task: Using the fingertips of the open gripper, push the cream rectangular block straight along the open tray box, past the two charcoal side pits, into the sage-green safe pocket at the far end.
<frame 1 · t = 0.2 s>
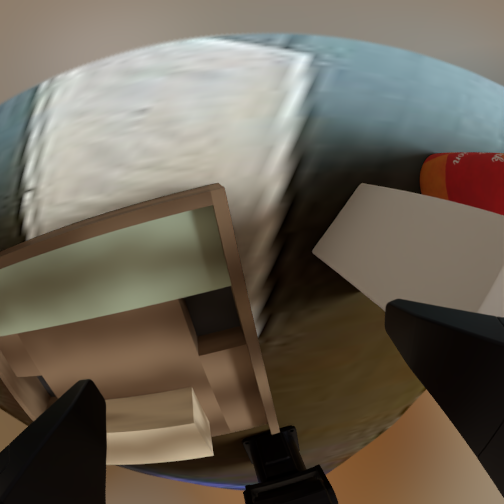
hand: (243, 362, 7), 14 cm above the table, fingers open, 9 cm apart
open tray box: (115, 346, 22), on the table
paper cup: (435, 180, 24), on the table
milk carton: (361, 239, 24), on the table
cream rectangular block: (138, 415, 21), point 3 cm above the table, touching open tray box
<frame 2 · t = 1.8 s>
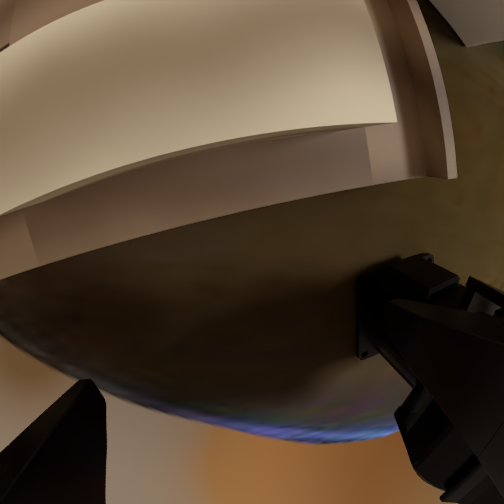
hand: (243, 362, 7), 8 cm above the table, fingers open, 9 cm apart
open tray box: (163, 11, 10), on the table
milk carton: (447, 2, 12), on the table
cream rectangular block: (176, 93, 9), point 3 cm above the table, touching open tray box
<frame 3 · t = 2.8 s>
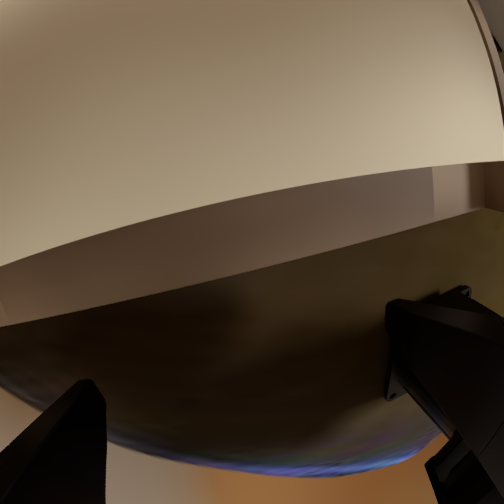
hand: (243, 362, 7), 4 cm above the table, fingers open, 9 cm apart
milk carton: (481, 2, 9), on the table
cream rectangular block: (182, 89, 6), point 3 cm above the table, touching open tray box
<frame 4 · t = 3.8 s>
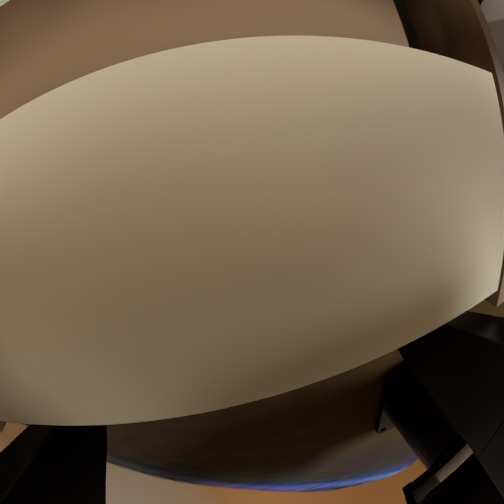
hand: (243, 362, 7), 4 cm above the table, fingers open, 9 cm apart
open tray box: (179, 68, 8), on the table
milk carton: (500, 47, 10), on the table
cream rectangular block: (208, 206, 7), point 3 cm above the table, touching open tray box
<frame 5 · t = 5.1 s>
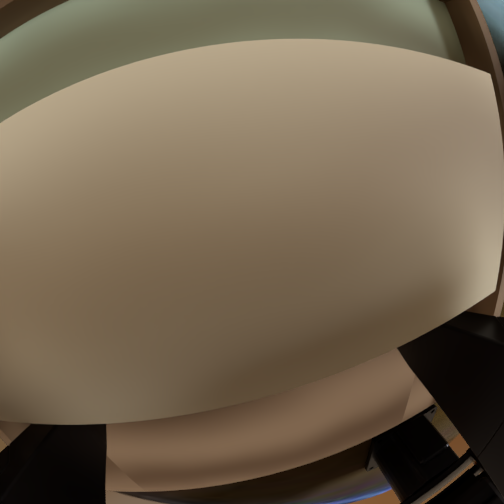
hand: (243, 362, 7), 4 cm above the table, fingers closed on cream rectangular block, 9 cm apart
open tray box: (219, 264, 11), on the table
cream rectangular block: (206, 207, 7), point 3 cm above the table, touching gripper, open tray box
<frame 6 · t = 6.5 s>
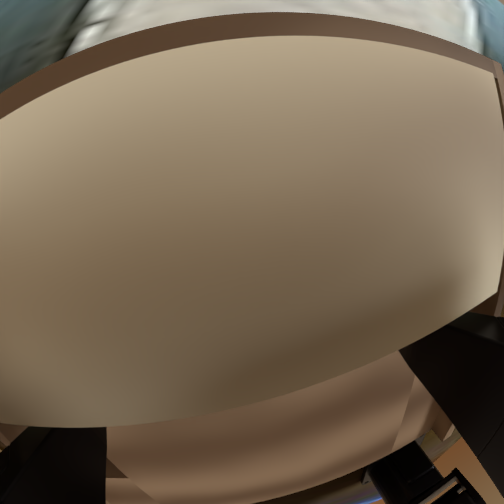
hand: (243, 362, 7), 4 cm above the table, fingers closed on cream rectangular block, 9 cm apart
open tray box: (239, 349, 12), on the table
cream rectangular block: (206, 207, 7), point 3 cm above the table, touching gripper, open tray box
when the fingers open (4 cm above the table, at t = 6.9 s): cream rectangular block stays where it is, resting on open tray box.
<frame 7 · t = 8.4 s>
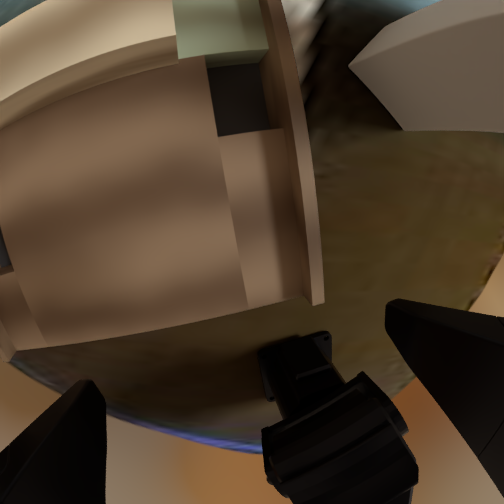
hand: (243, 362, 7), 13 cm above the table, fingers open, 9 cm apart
open tray box: (100, 160, 16), on the table
milk carton: (394, 75, 18), on the table
cream rectangular block: (75, 56, 11), point 3 cm above the table, touching open tray box
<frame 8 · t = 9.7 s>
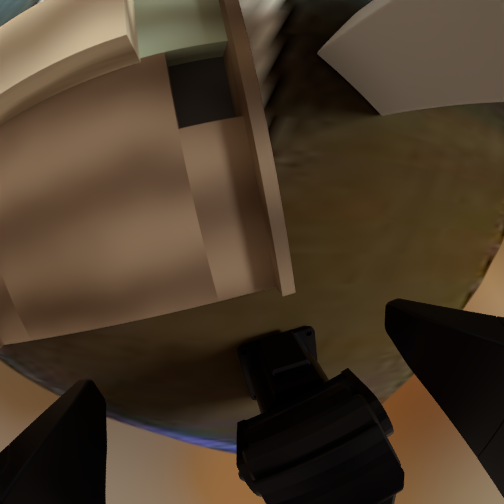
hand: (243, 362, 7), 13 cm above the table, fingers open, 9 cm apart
open tray box: (76, 160, 16), on the table
milk carton: (368, 60, 18), on the table
cream rectangular block: (48, 64, 11), point 3 cm above the table, touching open tray box
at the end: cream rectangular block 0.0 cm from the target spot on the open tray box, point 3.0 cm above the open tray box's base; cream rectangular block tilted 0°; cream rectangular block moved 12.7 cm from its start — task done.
